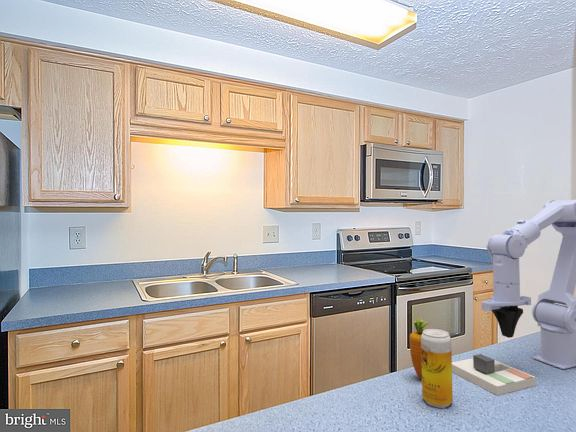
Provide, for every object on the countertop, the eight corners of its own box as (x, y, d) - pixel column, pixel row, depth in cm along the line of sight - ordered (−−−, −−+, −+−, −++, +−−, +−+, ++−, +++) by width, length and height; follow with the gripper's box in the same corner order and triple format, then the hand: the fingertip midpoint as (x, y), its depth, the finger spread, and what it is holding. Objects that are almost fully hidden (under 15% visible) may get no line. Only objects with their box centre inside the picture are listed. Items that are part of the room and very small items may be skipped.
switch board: (484, 363, 98) (484, 354, 98) (535, 385, 85) (535, 376, 85) (449, 370, 94) (449, 362, 94) (497, 395, 81) (497, 385, 81)
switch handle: (480, 373, 91) (480, 353, 91) (494, 379, 88) (494, 359, 88) (473, 374, 91) (473, 355, 91) (487, 381, 87) (486, 361, 87)
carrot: (412, 373, 93) (411, 314, 93) (433, 377, 91) (431, 317, 91) (408, 381, 89) (406, 319, 89) (429, 385, 87) (428, 322, 86)
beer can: (416, 398, 81) (414, 330, 81) (438, 392, 83) (436, 326, 83) (436, 411, 75) (434, 339, 75) (459, 405, 77) (457, 334, 77)
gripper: (512, 277, 98) (513, 327, 98) (471, 282, 93) (472, 335, 93) (538, 281, 91) (539, 335, 91) (495, 286, 86) (496, 344, 86)
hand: (507, 336), depth 92 cm, fingers closed
